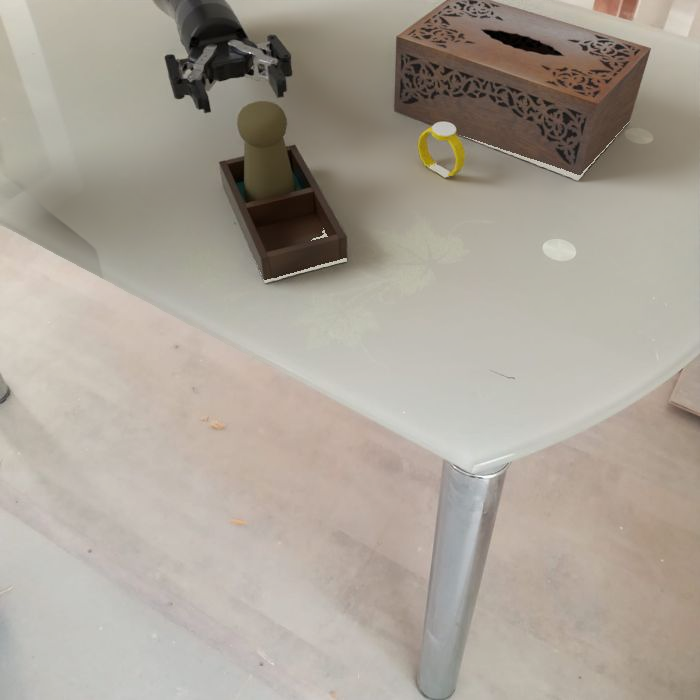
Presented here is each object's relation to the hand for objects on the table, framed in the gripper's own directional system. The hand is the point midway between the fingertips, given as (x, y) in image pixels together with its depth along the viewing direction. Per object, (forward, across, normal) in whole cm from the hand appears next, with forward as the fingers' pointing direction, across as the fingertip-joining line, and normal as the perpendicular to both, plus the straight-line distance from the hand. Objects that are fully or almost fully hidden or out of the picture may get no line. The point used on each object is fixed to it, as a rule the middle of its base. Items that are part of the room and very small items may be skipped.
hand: (244, 97), depth 86 cm
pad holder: (+12, 0, +9) cm, 15 cm away
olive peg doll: (+8, 0, +8) cm, 11 cm away
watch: (+10, +20, +9) cm, 24 cm away
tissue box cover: (+3, +33, +9) cm, 34 cm away
